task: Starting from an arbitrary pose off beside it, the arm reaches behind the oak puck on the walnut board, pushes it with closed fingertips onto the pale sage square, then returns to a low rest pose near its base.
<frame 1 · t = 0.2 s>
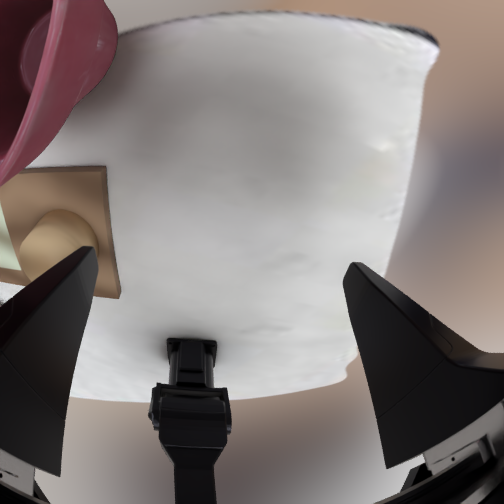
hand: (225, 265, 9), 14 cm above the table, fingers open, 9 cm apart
plant pot: (68, 52, 13), on the table
walnut board: (24, 231, 22), on the table
oak puck: (67, 241, 22), point 1 cm above the table, touching walnut board
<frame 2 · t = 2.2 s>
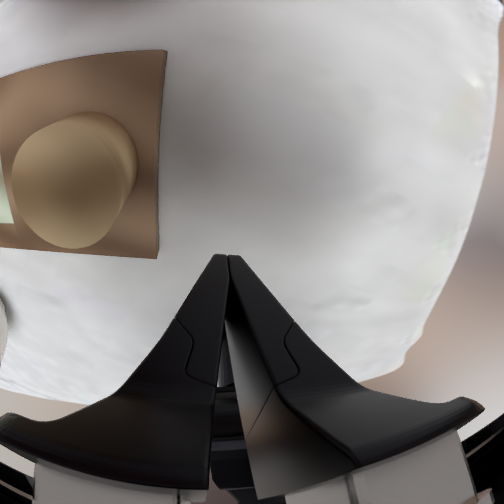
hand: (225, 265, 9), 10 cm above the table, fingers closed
walnut board: (23, 163, 14), on the table
oak puck: (87, 165, 15), point 1 cm above the table, touching walnut board
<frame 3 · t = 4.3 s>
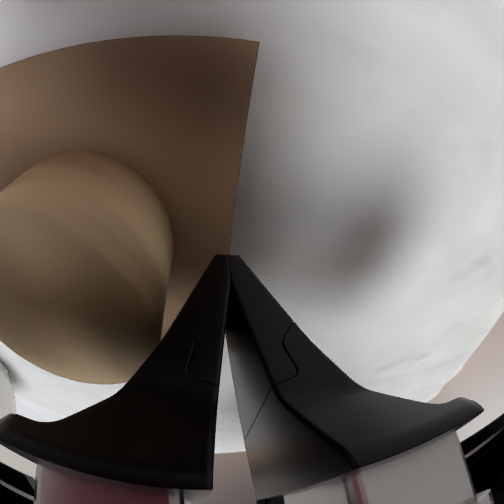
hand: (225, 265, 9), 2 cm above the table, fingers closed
walnut board: (4, 222, 9), on the table
oak puck: (85, 239, 9), point 1 cm above the table, touching gripper
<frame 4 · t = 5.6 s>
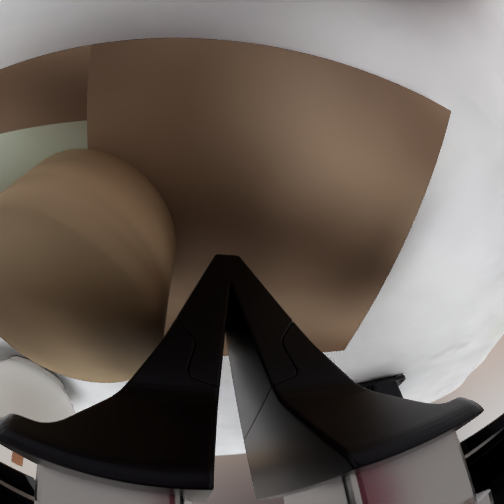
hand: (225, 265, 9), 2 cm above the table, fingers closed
walnut board: (141, 226, 11), on the table
oak puck: (88, 238, 9), point 1 cm above the table, touching gripper
lidded jar: (36, 373, 18), on the table
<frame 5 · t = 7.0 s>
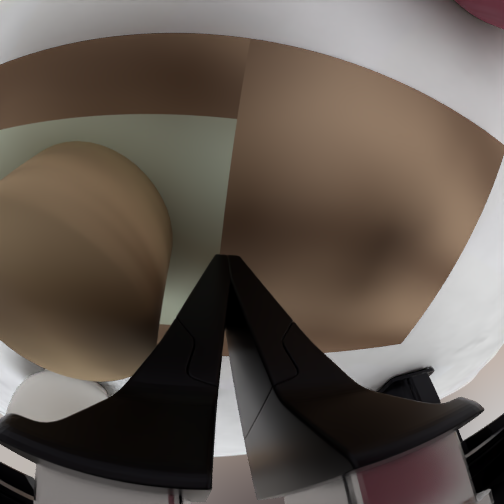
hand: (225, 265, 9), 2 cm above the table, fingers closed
walnut board: (257, 232, 11), on the table
oak puck: (82, 234, 9), point 1 cm above the table, touching gripper, walnut board
lidded jar: (75, 382, 18), on the table
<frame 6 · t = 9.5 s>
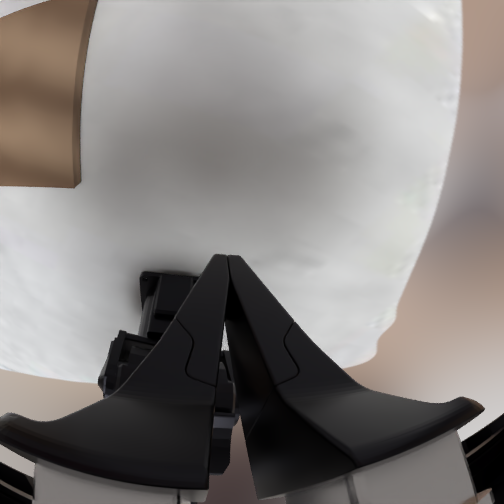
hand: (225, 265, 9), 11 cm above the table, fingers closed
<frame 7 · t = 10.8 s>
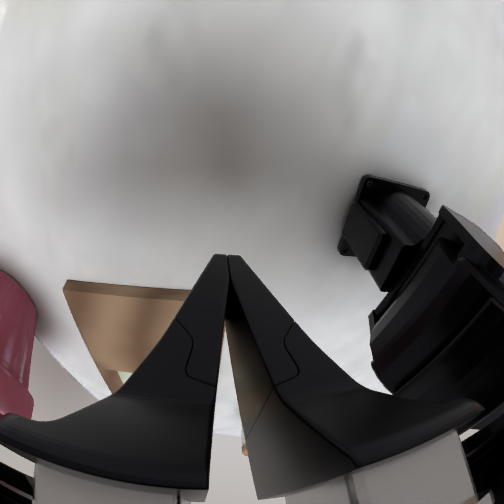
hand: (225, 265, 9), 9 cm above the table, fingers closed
plant pot: (7, 297, 21), on the table
walnut board: (154, 359, 27), on the table
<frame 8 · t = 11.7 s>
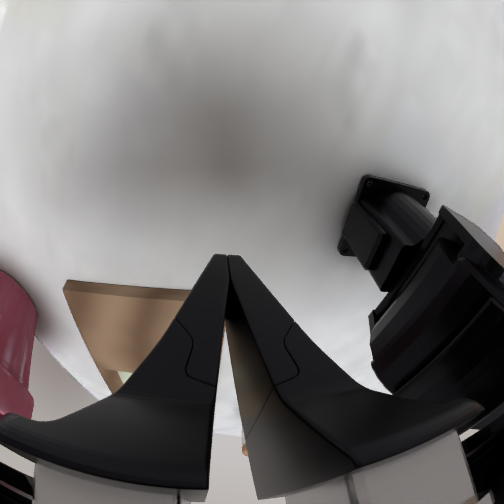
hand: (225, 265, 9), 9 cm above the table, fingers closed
plant pot: (7, 297, 21), on the table
walnut board: (154, 359, 27), on the table
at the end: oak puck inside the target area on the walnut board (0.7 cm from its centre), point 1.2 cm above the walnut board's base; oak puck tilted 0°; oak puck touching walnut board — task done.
